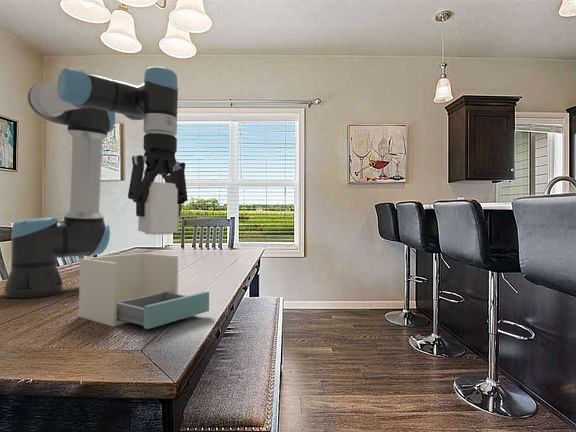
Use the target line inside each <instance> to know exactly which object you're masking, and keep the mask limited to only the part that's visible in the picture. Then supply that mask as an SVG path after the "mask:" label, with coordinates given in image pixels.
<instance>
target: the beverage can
mask: <svg viewBox="0 0 576 432" xmlns="http://www.w3.org/2000/svg"><path fill="white" fill-rule="evenodd" d="M177 193H178V190H177V188H176V186H175V184H173V183H165V182H155V181H154V182H151V186H150V188H149V194H148V197H147V199H146V201H145V203H149V231H140V232H141V233H144V234H145V235H152V236H153V235H161V236H162V235H172V234H174V233H177V232H178V230H177Z"/></svg>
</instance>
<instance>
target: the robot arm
mask: <svg viewBox="0 0 576 432" xmlns="http://www.w3.org/2000/svg"><path fill="white" fill-rule="evenodd" d="M143 75H144V76H143V83H142V84H141V85H134V84H131V83H127V82H123V81H119V80H115V79H111V78H107V77H104V76H100V75H98V74H93V73H89V72H85V71H83V70H80V69H74V68H70V67H69V68H68V67H66V68H65V67H64V68H63V69H62V70H60V73H59V75H58V78H57V80H56V81H54V82H50V81H43V82H39V83H37V84H34V85H33V86H31V88H30V89H29V91H28V93H27V102H28V103H27V104H28V105H29V106H30V108H31V110H32V111H33V112H34V113H35V114H36V115H38V116H39V117H41V118H43V119H44V120H46V121H49V122H51V123H55V124H59V125H64V126H67V133H68V134H69V135H70V136H71V137H72V148H71V149H72V151H71V171H70V173H71V175H70V177H71V178H70V201H69V203H70V204H69V211H68V212H66V214H64V218H63V221H59V219H58V218H57V217H56V216H55V217H54V216H51V217H39V218H30V219H22V220H18V221H15V222H13V224H12V227H11V228H12V229H11V235H10V239H11V266H10V267H11V268H10V272H9V275H8V276H7V277H8V278H7V280H6V282H5V285H4V288H3V297H4V298H8V299H29V298H30V299H31V298H40V297H48V296H53V295H56V294H59V293H63V291H64V282H63V279H62V277H61V274H60V271H59V269H58V258H71V257H90V256H96V255H97V256H98V255H101V254H103V252H105V250H106V249H107V247H108V246H109V241H110V236H111V230H110V224H109V223H108V222H107V221H106V220H104V219H105V218H104V215H103V214H102V213H101V212H100V195H101V178H102V176H101V173H102V153H103V150H102V149H103V140H105V139H107V138H108V135H109V134H108V133H111V132H112V131H113V130H114V128H115V124H116V114H121V115H123V116H124V117H126V118H127V119H129V120H131V121H143V133H144V135H143V148H142V149H143V150H144V154H143V155H142V154H141V155H133V156H131V162H132V170H131V175H130V181H129V187H128V193H127V198H128V200H132V201H133V203H135V204H136V205H135V215H136V217H138V232H141V231H149V203H145V201H146V199H147V197H148V194H149V188H150V186H151V182H155V179H156V177H158V175H160V176H161V178H163V180H164V183H173V184H175V186H176V188H177V190H178V193H177V231H179V230H180V229H179V227H180V225H179V224H180V223H179V222H180V217H181V211H182V208H181V207H182V205H183V204H185V202H187V201H188V200H189V199H188V191H187V183H186V182H187V181H186V174H185V171H186V170H185V169H186V163H185V162H179V161H177V159H176V152H177V151H178V149H177V148H178V138H177V135H178V96H179V88H178V75H177V73H175V72H174V71H173V70H172V69H169V68H167V67H162V66H150V67H148V68H146V69H145V70H144V74H143ZM145 165H146V167H145Z"/></svg>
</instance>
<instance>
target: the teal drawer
mask: <svg viewBox="0 0 576 432" xmlns="http://www.w3.org/2000/svg"><path fill="white" fill-rule="evenodd" d="M209 311H210V292H209V291H203V292H198V293H194V294H190V295H184V294H179V293H178V294H174V293H169V292H163V293H158V294H154V295H149V296H144V297H139V298H134V299H129V300H125V301H120V302H117V319H120V320H124V321H128V322H129V323H132V324H136V325H140V326H143V329H147V330H149V329H154V328H155V327H160V326H164V325H166V324H170V323H172V322H176V321H179V320H180V321H181V320H184V319H186V318H190V317H192V316H193V317H194V316H196V315H201V314H203V313H206V312H209Z"/></svg>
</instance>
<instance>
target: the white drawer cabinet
mask: <svg viewBox="0 0 576 432" xmlns="http://www.w3.org/2000/svg"><path fill="white" fill-rule="evenodd" d="M178 283H179V255H170V254H168V255H167V254H161V253H160V254H159V253H148V252H139V253H127V254H117V255H108V256H107V255H106V256H97V257H96V256H95V257H87V258H85V257H84V258H79V283H78V285H79V286H78V287H79V290H78V292H79V294H78V295H79V296H78V297H79V298H78V300H79V301H78V317H79V318H82V319H85V320H89V321H93V322H97V323H100V324H103V325H106V326H110V327H118V326H121V325H124V324H129V323H130V322H128V321H124V320H120V319H117V302H120V301H125V300H129V299H134V298H139V297H144V296H149V295H154V294H158V293H163V292H169V293H174V294H179V293H178V291H179V289H178V287H179V286H178V285H179V284H178Z"/></svg>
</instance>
